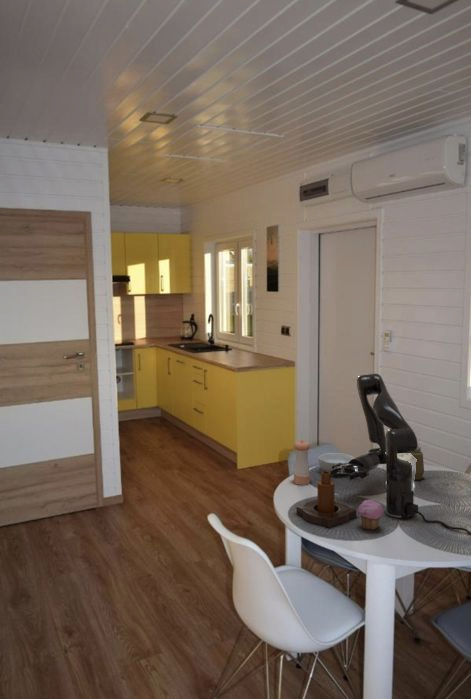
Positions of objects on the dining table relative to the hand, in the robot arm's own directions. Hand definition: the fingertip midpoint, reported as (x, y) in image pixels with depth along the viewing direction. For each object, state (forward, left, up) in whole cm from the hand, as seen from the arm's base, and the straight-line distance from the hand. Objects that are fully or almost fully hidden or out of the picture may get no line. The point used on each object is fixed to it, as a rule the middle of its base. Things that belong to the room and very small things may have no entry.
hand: (340, 475), depth 226 cm
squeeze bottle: (+1, -52, -13) cm, 53 cm away
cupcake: (-20, +6, -13) cm, 25 cm away
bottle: (-2, +10, -13) cm, 17 cm away
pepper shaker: (+31, -10, -13) cm, 35 cm away
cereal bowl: (+30, -32, -13) cm, 46 cm away
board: (-2, +10, -13) cm, 17 cm away
